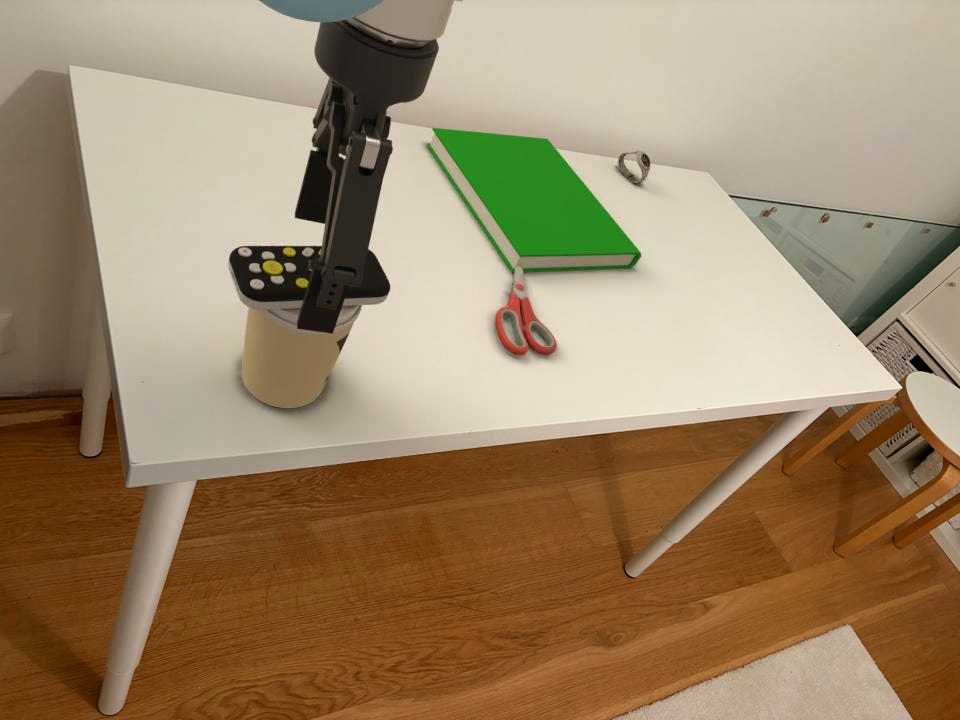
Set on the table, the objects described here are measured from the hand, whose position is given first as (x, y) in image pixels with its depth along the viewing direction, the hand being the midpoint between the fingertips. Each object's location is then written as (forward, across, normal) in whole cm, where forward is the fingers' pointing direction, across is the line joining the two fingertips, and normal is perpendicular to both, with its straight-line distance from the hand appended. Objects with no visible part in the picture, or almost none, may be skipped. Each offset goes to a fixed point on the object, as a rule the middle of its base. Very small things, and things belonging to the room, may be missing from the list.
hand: (312, 269), depth 59 cm
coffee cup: (+14, 0, 0) cm, 14 cm away
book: (+14, +39, -36) cm, 55 cm away
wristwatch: (+14, +56, -60) cm, 83 cm away
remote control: (+2, 0, 0) cm, 2 cm away
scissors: (+13, +17, -28) cm, 36 cm away
